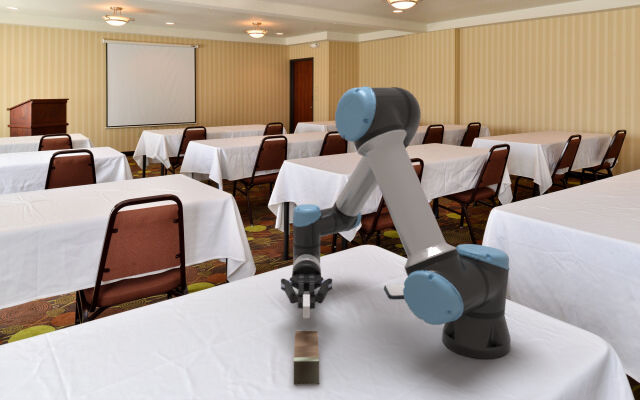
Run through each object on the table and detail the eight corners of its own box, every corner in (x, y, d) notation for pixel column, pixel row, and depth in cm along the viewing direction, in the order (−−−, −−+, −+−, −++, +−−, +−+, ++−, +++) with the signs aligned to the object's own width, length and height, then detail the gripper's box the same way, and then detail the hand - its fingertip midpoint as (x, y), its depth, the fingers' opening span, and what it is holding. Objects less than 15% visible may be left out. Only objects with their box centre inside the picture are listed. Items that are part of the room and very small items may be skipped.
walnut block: (317, 330, 111) (319, 360, 98) (317, 351, 112) (319, 384, 99) (295, 330, 111) (293, 361, 98) (295, 351, 112) (293, 384, 99)
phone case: (389, 301, 140) (444, 298, 141) (389, 296, 140) (445, 293, 141) (383, 289, 149) (435, 287, 150) (383, 284, 149) (435, 282, 150)
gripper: (331, 286, 130) (336, 328, 107) (281, 286, 130) (276, 328, 107) (331, 259, 129) (336, 295, 106) (281, 259, 129) (275, 296, 106)
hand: (306, 312), depth 106 cm, fingers closed
